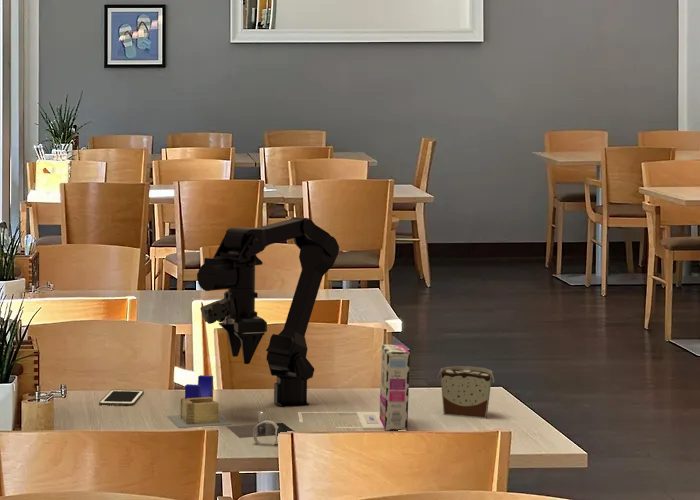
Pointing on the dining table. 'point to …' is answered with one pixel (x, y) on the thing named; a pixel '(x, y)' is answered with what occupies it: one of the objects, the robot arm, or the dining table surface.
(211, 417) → the tan wooden block
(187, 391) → the blue arch block
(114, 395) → the cell phone
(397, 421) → the candy bar box
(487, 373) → the food container
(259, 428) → the stand
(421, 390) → the dining table surface
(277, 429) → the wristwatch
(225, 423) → the coaster
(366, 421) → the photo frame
